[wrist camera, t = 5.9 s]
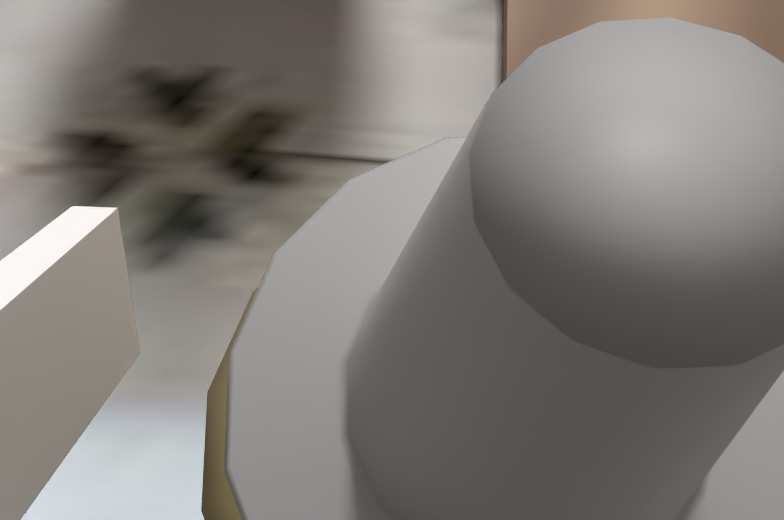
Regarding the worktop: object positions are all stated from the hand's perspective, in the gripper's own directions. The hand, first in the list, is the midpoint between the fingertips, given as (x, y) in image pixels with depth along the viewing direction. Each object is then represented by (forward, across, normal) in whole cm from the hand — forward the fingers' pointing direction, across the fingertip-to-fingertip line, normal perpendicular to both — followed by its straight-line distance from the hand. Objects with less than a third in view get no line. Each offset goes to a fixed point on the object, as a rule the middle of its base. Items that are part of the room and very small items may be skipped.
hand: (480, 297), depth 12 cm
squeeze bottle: (+4, 0, -8) cm, 9 cm away
